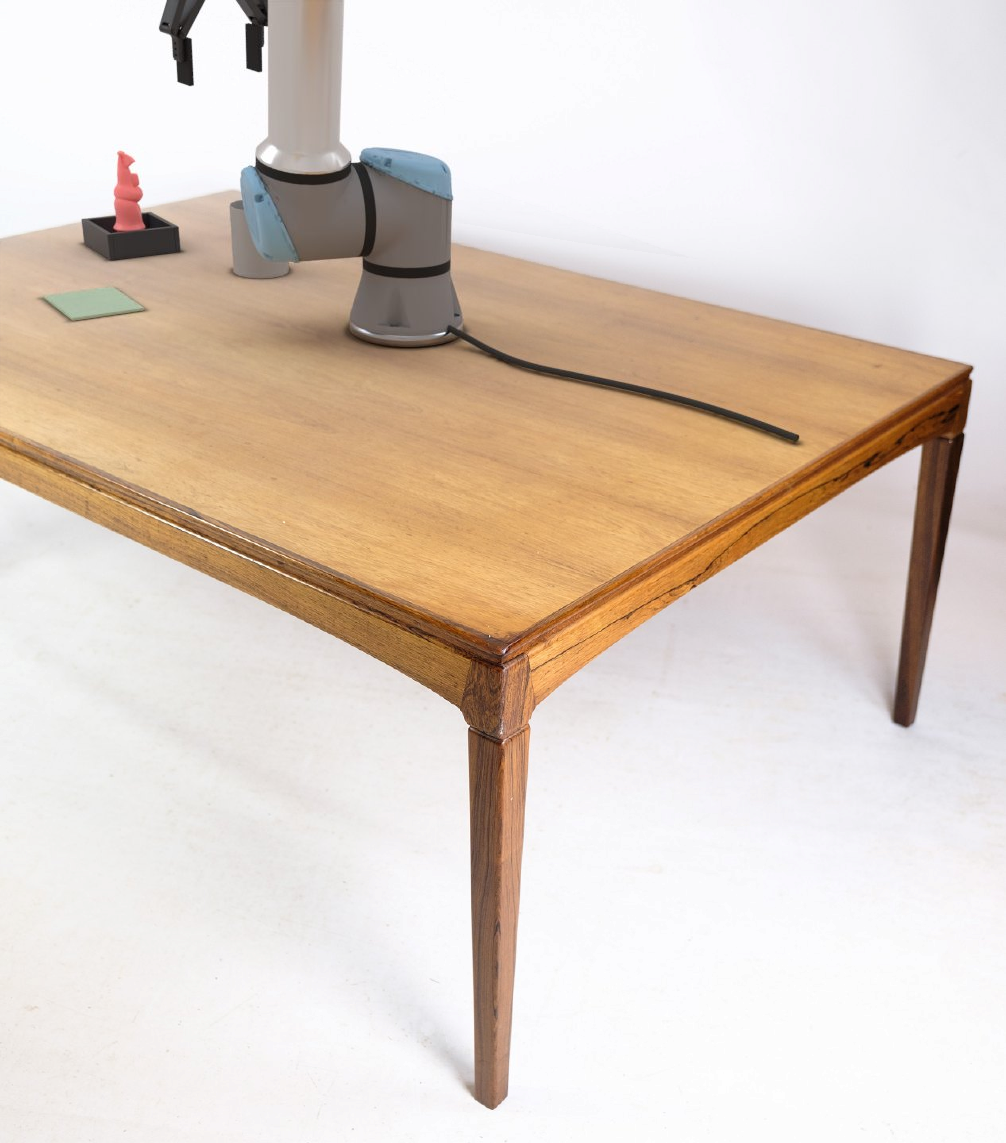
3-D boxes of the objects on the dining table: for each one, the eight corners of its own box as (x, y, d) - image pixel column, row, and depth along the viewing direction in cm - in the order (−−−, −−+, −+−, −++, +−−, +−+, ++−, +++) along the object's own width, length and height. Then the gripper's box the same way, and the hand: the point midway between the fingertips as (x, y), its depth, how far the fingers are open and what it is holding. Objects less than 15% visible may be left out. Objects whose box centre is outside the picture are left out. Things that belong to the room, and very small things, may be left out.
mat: (144, 310, 178) (144, 307, 178) (72, 321, 173) (72, 318, 173) (112, 289, 187) (112, 286, 186) (43, 298, 181) (43, 295, 181)
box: (180, 251, 206) (178, 226, 204) (110, 260, 200) (107, 234, 198) (153, 236, 214) (150, 211, 213) (84, 243, 208) (81, 218, 207)
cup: (294, 265, 201) (292, 200, 197) (281, 279, 194) (278, 212, 189) (241, 262, 202) (237, 197, 197) (226, 276, 195) (222, 209, 190)
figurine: (155, 247, 208) (146, 151, 201) (131, 253, 204) (122, 155, 197) (132, 242, 210) (123, 146, 203) (108, 248, 207) (98, 151, 200)
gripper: (261, -90, 191) (264, 59, 203) (126, -79, 174) (137, 83, 186) (297, -81, 188) (298, 70, 200) (163, -69, 171) (172, 96, 183)
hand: (220, 77), depth 193 cm, fingers open, 13 cm apart
